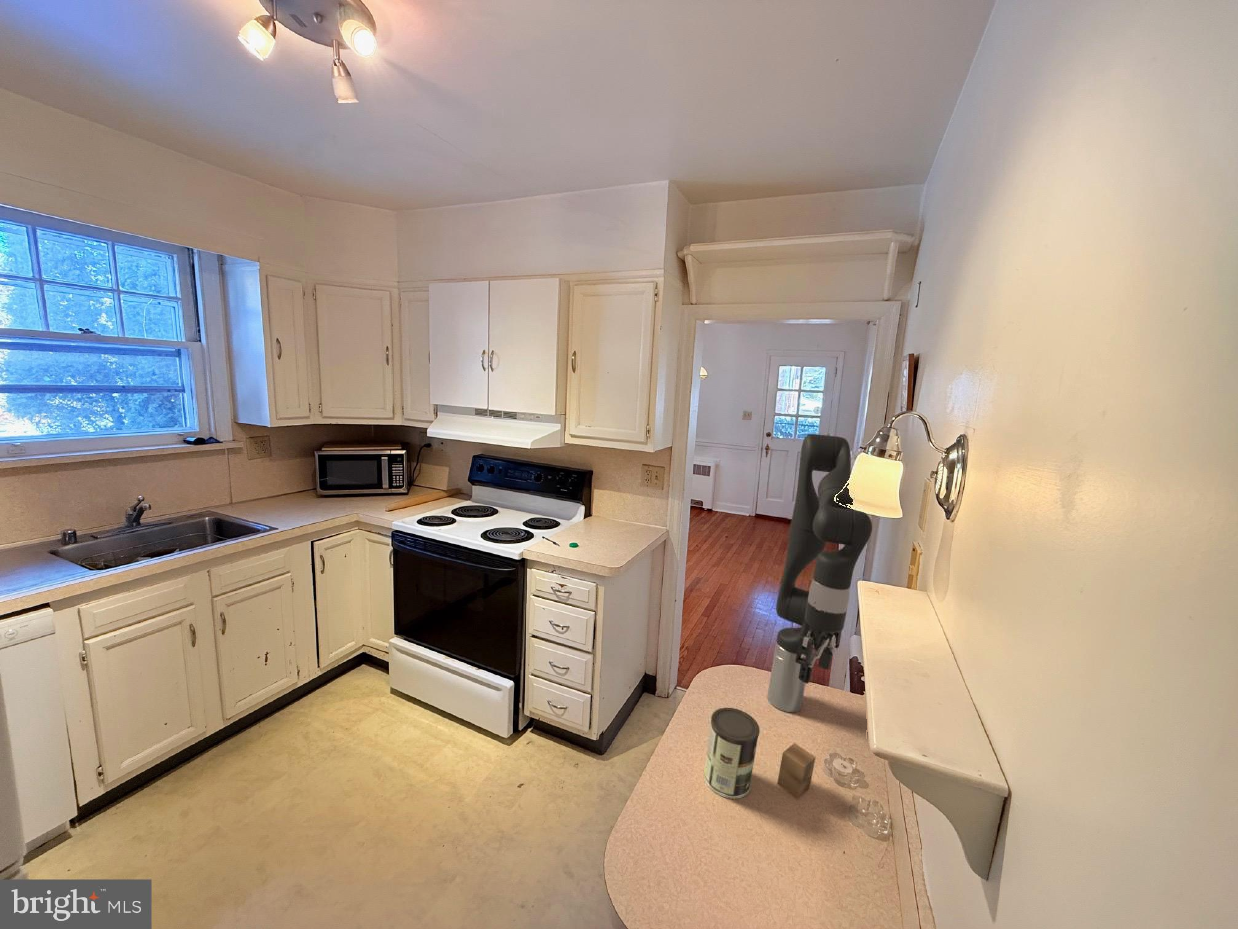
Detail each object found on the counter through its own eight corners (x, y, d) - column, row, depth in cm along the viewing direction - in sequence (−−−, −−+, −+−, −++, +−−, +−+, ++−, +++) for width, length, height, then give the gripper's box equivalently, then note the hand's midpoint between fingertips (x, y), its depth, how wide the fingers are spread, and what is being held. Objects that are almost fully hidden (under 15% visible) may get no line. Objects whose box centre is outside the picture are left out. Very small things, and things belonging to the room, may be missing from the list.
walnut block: (788, 773, 111) (794, 742, 110) (809, 788, 107) (815, 757, 106) (777, 784, 108) (782, 752, 106) (797, 800, 104) (804, 767, 103)
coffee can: (744, 763, 113) (753, 709, 110) (755, 801, 103) (765, 743, 100) (699, 759, 113) (707, 704, 110) (706, 796, 103) (715, 738, 100)
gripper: (826, 588, 107) (813, 655, 110) (792, 603, 98) (780, 676, 101) (860, 602, 102) (846, 672, 105) (828, 619, 92) (814, 696, 95)
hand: (814, 674), depth 103 cm, fingers open, 8 cm apart
